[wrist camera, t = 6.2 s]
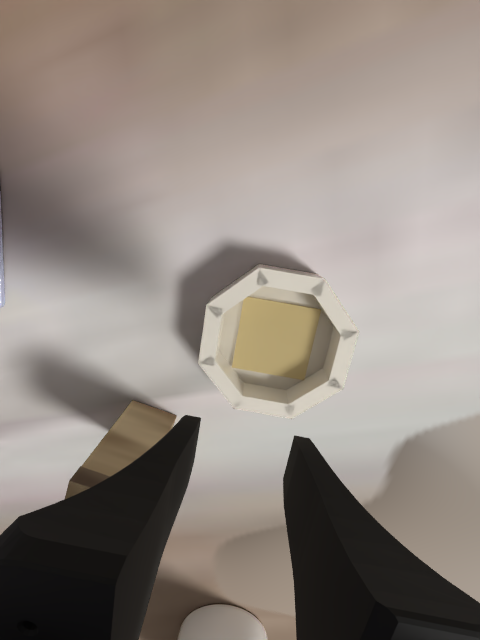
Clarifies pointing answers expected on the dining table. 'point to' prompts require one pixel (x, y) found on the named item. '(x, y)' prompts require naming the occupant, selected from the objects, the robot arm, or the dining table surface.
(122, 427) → the brown rectangular block
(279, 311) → the jar dish
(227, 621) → the candle holder
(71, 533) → the robot arm
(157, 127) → the dining table surface
